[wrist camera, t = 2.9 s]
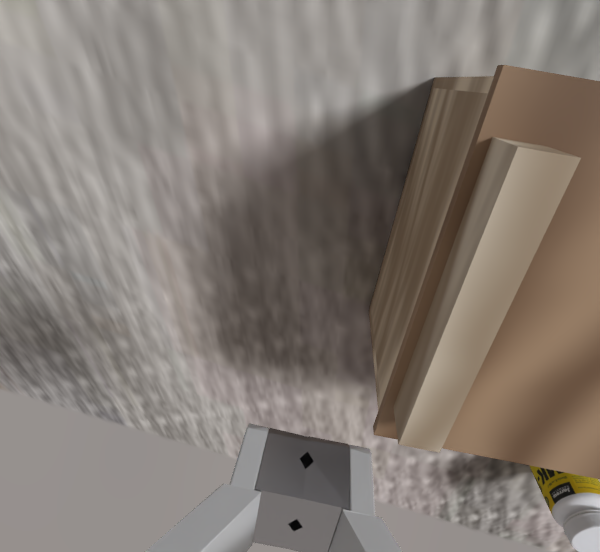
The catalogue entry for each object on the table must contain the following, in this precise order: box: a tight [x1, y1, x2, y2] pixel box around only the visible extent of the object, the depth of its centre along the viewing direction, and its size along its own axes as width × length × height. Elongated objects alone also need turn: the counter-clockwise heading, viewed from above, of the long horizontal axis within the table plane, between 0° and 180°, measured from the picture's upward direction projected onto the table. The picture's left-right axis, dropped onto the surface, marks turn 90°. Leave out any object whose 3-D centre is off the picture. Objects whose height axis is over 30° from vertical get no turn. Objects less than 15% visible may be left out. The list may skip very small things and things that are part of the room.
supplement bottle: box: [529, 465, 600, 552], centre depth 35 cm, size 5×5×8 cm
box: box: [369, 76, 494, 411], centre depth 24 cm, size 18×18×12 cm
